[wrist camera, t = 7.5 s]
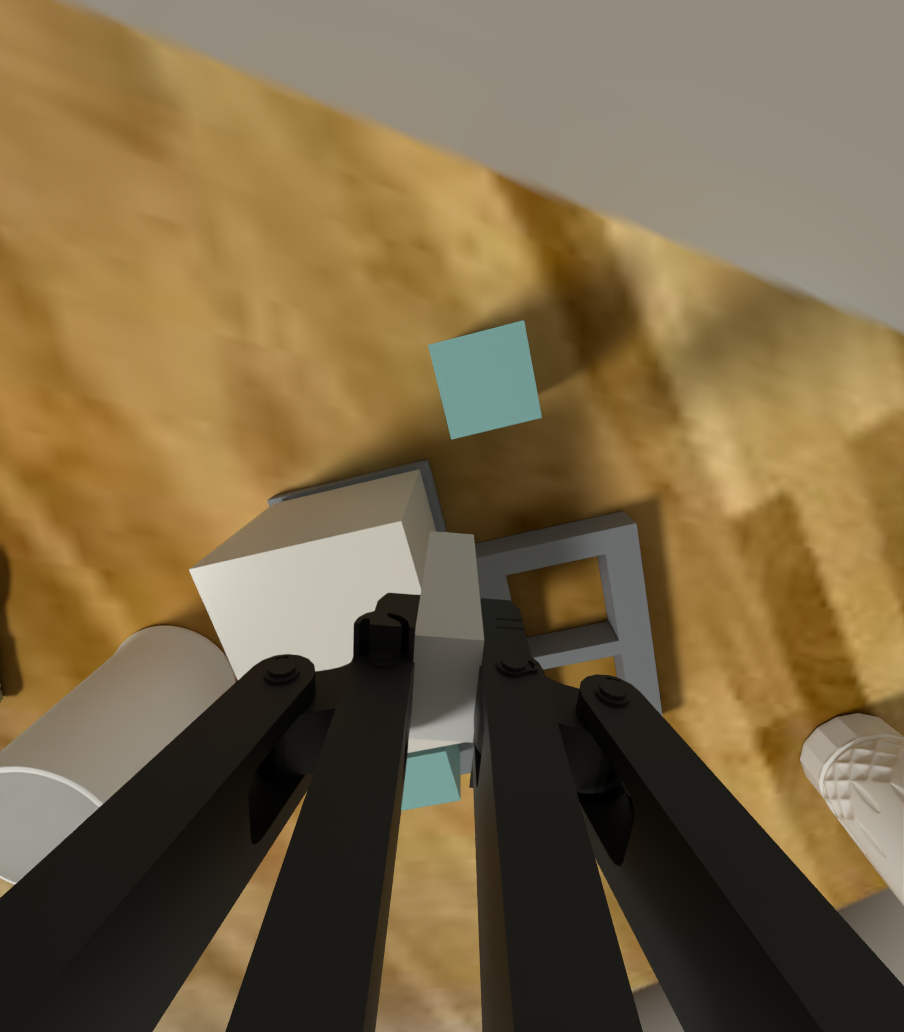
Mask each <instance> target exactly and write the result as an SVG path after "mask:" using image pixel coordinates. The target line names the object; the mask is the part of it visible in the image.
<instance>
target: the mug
mask: <svg viewBox="0 0 904 1032" xmlns="http://www.w3.org/2000/svg"><path fill="white" fill-rule="evenodd" d="M235 683H236V679H235V674H234V671H233V668H232V666H231V664H230V662H229V660H228V659H227V657H226V656H225V654H224V653H223V652H222V651H221V650H220V649H219V648H218V647H217V646H216V645H215V644H214V643H213V642H211V641H210V640H209V639H207V638H206V637H204V636H202V635H200V634H198V633H196V632H194V631H191V630H189V629H185V628H182V627H177V626H153V627H149V628H145V629H142V630H140V631H138V632H136V633H134V634H133V635H131V636H130V637H128V638H127V639H126V640H125V641H124V642H123V643H122V644H121V645H120V647H119V648H118V650H117V651H116V653H115V654H114V655H113V656H111V657H110V658H109V659H108V660H107V661H106V662H105V663H104V664H102V665H101V666H100V667H99V668H98V669H97V670H95V671H94V672H93V673H92V674H91V675H90V676H88V677H87V678H86V679H85V680H84V681H83V682H81V683H80V684H79V685H78V686H77V687H76V688H74V689H73V690H72V691H71V692H70V693H69V694H67V695H66V696H65V697H64V698H63V699H61V700H60V701H59V702H58V703H57V704H56V705H54V706H53V707H52V708H51V709H50V710H49V711H47V712H46V713H45V714H44V715H43V716H42V717H40V718H39V719H38V720H37V721H36V722H35V723H33V724H32V725H31V726H30V727H29V728H28V729H26V730H25V731H24V732H23V733H22V734H21V735H19V736H18V737H17V738H16V739H15V740H13V741H12V742H11V743H10V744H9V745H8V746H6V747H5V748H4V749H3V750H2V751H1V752H0V878H1V879H3V880H5V881H7V882H10V883H12V884H16V883H17V882H18V881H19V880H21V879H22V878H23V877H24V876H25V875H26V874H27V873H28V872H29V871H30V870H31V869H33V868H34V867H35V866H36V865H37V864H38V863H39V862H40V861H41V860H42V859H43V858H45V857H46V856H47V855H48V854H49V853H50V852H51V851H52V850H53V849H54V848H55V847H57V846H58V845H59V844H60V843H61V842H62V841H63V840H64V839H65V838H66V837H68V836H69V835H70V834H71V833H72V832H73V831H74V830H75V829H76V828H77V827H78V826H80V825H81V824H82V823H83V822H84V821H85V820H86V819H87V818H88V817H89V816H90V815H92V814H93V813H94V812H95V811H96V810H97V809H98V808H99V807H100V806H101V805H102V804H104V803H105V802H106V801H107V800H108V799H109V798H110V797H111V796H112V795H113V794H114V793H116V792H117V791H118V790H119V789H120V788H121V787H122V786H123V785H124V784H125V783H126V782H128V781H129V780H130V779H131V778H132V777H133V776H134V775H135V774H136V773H137V772H138V771H140V770H141V769H142V768H143V767H144V766H145V765H146V764H147V763H148V762H149V761H150V760H152V759H153V758H154V757H155V756H156V755H157V754H158V753H159V752H160V751H161V750H162V749H164V748H165V747H166V746H167V745H168V744H169V743H170V742H171V741H172V740H173V739H174V738H176V737H177V736H178V735H179V734H180V733H181V732H182V731H183V730H184V729H185V728H186V727H188V726H189V725H190V724H191V723H192V722H193V721H194V720H195V719H196V718H197V717H198V716H200V715H201V714H202V713H203V712H204V711H205V710H206V709H207V708H208V707H209V706H210V705H212V704H213V703H214V702H215V701H216V700H217V699H218V698H219V697H220V696H221V695H222V694H224V693H225V692H226V691H227V690H228V689H229V688H230V687H231V686H232V685H233V684H235Z"/></svg>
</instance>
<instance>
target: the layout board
mask: <svg viewBox="0 0 904 1032" xmlns="http://www.w3.org/2000/svg"><path fill="white" fill-rule="evenodd" d="M418 469H420V472H421V476H422V480H423V483H424V487H425V491H426V495H427V498H428V502H429V506H430V510H431V513H432V517H433V521H434V525H435V528H436V532H447V528H446V524H445V521H444V517H443V513H442V509H441V505H440V501H439V498H438V494H437V490H436V486H435V482H434V478H433V474H432V471H431V467H430V463H429V459H427V460H423V461H419V462H414V463H410V464H406V465H402V466H398V467H393V468H389V469H385V470H381V471H377V472H372V473H368V474H364V475H360V476H356V477H351V478H347V479H343V480H339V481H335V482H330V483H326V484H322V485H318V486H314V487H309V488H305V489H301V490H297V491H292V492H288V493H284V494H280V495H276V496H273V497H271V498H270V499H269V500H267V501H268V504H269V506H271V505H273V504H274V503H278V502H283V501H287V500H291V499H295V498H300V497H304V496H308V495H312V494H317V493H321V492H325V491H329V490H333V489H338V488H342V487H346V486H350V485H355V484H359V483H363V482H367V481H371V480H376V479H380V478H384V477H388V476H393V475H397V474H401V473H405V472H410V471H414V470H418ZM474 742H475V739H474V736H473V743H470V742H464V743H458V744H453V745H448V746H442V747H437V748H432V749H426V750H421V751H416V752H410V753H408V756H407V765H406V773H405V782H404V790H403V799H402V807H401V811H402V810H408V809H413V808H419V807H425V806H430V805H436V804H442V803H447V802H453V801H459V800H460V775H462V774H467V773H471V768H472V760H473V751H474Z"/></svg>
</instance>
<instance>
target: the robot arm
mask: <svg viewBox="0 0 904 1032" xmlns="http://www.w3.org/2000/svg"><path fill="white" fill-rule="evenodd" d="M473 736H474V739H475V742H474V751H473V760H472V768H471V777H470V786H469V787H471V788H473V789H474V816H475V843H476V870H477V897H478V924H479V951H480V978H481V1005H482V1032H643V1031H642V1027H641V1024H640V1020H639V1016H638V1013H637V1009H636V1006H635V1002H634V998H633V995H632V991H631V987H630V984H629V980H628V976H627V973H626V969H625V966H624V962H623V958H622V955H621V951H620V947H619V944H618V940H617V936H616V933H615V929H614V926H613V922H612V918H611V915H610V911H609V907H608V904H607V900H606V896H605V893H604V889H603V886H602V882H601V878H600V875H599V871H598V867H597V864H596V861H597V863H598V865H599V866H600V868H601V870H602V872H603V874H604V876H605V878H606V880H607V882H608V884H609V886H610V888H611V890H612V892H613V894H614V896H615V898H616V899H617V901H618V903H619V905H620V907H621V909H622V911H623V913H624V915H625V917H626V919H627V921H628V923H629V925H630V927H631V929H632V931H633V932H634V934H635V936H636V938H637V940H638V942H639V944H640V946H641V948H642V950H643V952H644V954H645V956H646V958H647V960H648V962H649V964H650V965H651V967H652V969H653V971H654V973H655V975H656V977H657V979H658V981H659V983H660V985H661V987H662V989H663V991H664V992H665V995H666V997H667V998H668V1000H669V1002H670V1004H671V1006H672V1008H673V1010H674V1012H675V1014H676V1016H677V1018H678V1020H679V1022H680V1024H681V1025H682V1027H683V1029H684V1031H685V1032H904V986H903V984H902V983H901V982H900V981H899V980H898V979H897V978H896V977H895V976H894V974H893V973H892V972H891V971H890V970H889V969H888V968H887V967H886V966H885V964H884V963H883V962H882V961H881V960H880V959H879V958H878V957H877V956H876V954H875V953H874V952H873V951H872V950H871V949H870V948H869V947H868V946H867V944H866V943H865V942H864V941H863V940H862V939H861V938H860V937H859V935H858V934H857V933H856V932H855V931H854V930H853V929H852V928H851V926H850V925H849V924H848V923H847V922H846V921H845V920H844V919H843V918H842V916H841V915H839V913H838V912H837V911H836V910H835V909H834V907H833V906H832V905H831V904H830V903H829V902H828V901H827V900H826V899H825V897H824V896H823V895H822V894H821V893H820V892H819V891H818V890H817V888H816V887H815V886H814V885H813V884H812V883H811V882H810V881H809V880H808V878H807V877H806V876H805V875H804V874H803V873H802V872H801V871H800V870H799V868H798V867H797V866H796V865H795V864H794V863H793V862H792V861H791V859H790V858H789V857H788V856H787V855H786V854H785V853H784V852H783V851H782V849H781V848H780V847H779V846H778V845H777V844H776V843H775V842H774V840H773V839H772V838H771V837H770V836H769V835H768V834H767V833H766V832H765V830H764V829H763V828H762V827H761V826H760V825H759V824H758V823H757V821H756V820H755V819H754V818H753V817H752V816H751V815H750V814H749V813H748V811H747V810H746V809H745V808H744V807H743V806H742V805H741V804H740V803H739V801H738V800H737V799H736V798H735V797H734V796H733V795H732V794H731V792H730V791H729V790H728V789H727V788H726V787H725V786H724V785H723V784H722V782H721V781H720V780H719V779H718V778H717V777H716V776H715V775H714V773H713V772H712V771H711V770H710V769H709V768H708V767H707V766H706V765H705V763H704V762H703V761H702V760H701V759H700V758H699V757H698V756H697V755H696V753H695V752H694V751H693V750H692V749H691V748H690V747H689V746H688V744H687V743H686V742H685V741H684V740H683V739H682V738H681V737H680V736H679V734H678V733H677V732H676V731H675V730H674V729H673V728H672V727H671V725H670V724H669V723H668V722H667V721H666V720H665V719H664V718H663V717H662V715H661V714H660V713H659V712H658V711H657V710H656V709H655V708H654V707H653V705H652V704H651V703H650V702H649V701H648V700H647V699H646V698H645V696H644V695H643V694H642V693H641V692H640V691H639V690H638V689H636V688H635V687H634V686H633V685H632V684H630V683H628V682H626V681H624V680H622V679H620V678H617V677H613V676H609V675H592V676H588V677H586V678H585V679H584V680H583V681H581V684H580V689H578V688H574V687H571V686H567V685H564V684H561V683H558V682H555V681H553V680H551V679H549V678H547V677H546V676H545V675H544V671H543V669H542V667H541V665H540V663H539V662H538V661H536V660H535V659H534V658H533V657H531V653H530V649H529V645H528V641H527V637H526V633H525V630H524V625H523V622H522V617H521V613H520V610H519V609H518V608H517V607H516V606H515V605H514V604H513V603H512V602H511V601H510V600H499V599H486V598H480V592H479V582H478V572H477V563H476V553H475V543H474V534H461V533H448V532H434V531H430V535H429V542H428V548H427V555H426V562H425V568H424V575H423V582H422V588H421V595H414V594H400V593H387V594H385V595H384V596H383V597H382V598H380V599H379V600H378V602H377V605H376V608H375V611H372V612H368V613H365V614H364V615H362V616H360V617H358V618H357V620H356V621H355V622H354V637H353V658H352V661H351V662H350V663H349V664H347V665H344V666H341V667H339V668H334V669H329V670H322V671H315V666H314V664H313V663H312V662H311V661H310V660H309V659H308V658H305V657H303V656H300V655H293V654H283V655H276V656H272V657H270V658H267V659H264V660H262V661H260V662H259V663H257V664H256V665H254V666H253V667H252V668H251V669H250V670H249V671H248V672H247V673H245V674H244V675H243V676H242V677H241V678H240V679H239V680H238V681H237V682H236V683H235V684H233V685H232V686H231V687H230V688H229V689H228V690H227V691H226V692H225V693H224V694H222V695H221V696H220V697H219V698H218V699H217V700H216V701H215V702H214V703H213V704H212V705H210V706H209V707H208V708H207V709H206V710H205V711H204V712H203V713H202V714H201V715H200V716H198V717H197V718H196V719H195V720H194V721H193V722H192V723H191V724H190V725H189V726H188V727H186V728H185V729H184V730H183V731H182V732H181V733H180V734H179V735H178V736H177V737H176V738H174V739H173V740H172V741H171V742H170V743H169V744H168V745H167V746H166V747H165V748H164V749H162V750H161V751H160V752H159V753H158V754H157V755H156V756H155V757H154V758H153V759H152V760H150V761H149V762H148V763H147V764H146V765H145V766H144V767H143V768H142V769H141V770H140V771H138V772H137V773H136V774H135V775H134V776H133V777H132V778H131V779H130V780H129V781H128V782H126V783H125V784H124V785H123V786H122V787H121V788H120V789H119V790H118V791H117V792H116V793H114V794H113V795H112V796H111V797H110V798H109V799H108V800H107V801H106V802H105V803H104V804H102V805H101V806H100V807H99V808H98V809H97V810H96V811H95V812H94V813H93V814H92V815H90V816H89V817H88V818H87V819H86V820H85V821H84V822H83V823H82V824H81V825H80V826H78V827H77V828H76V829H75V830H74V831H73V832H72V833H71V834H70V835H69V836H68V837H66V838H65V839H64V840H63V841H62V842H61V843H60V844H59V845H58V846H57V847H55V848H54V849H53V850H52V851H51V852H50V853H49V854H48V855H47V856H46V857H45V858H43V859H42V860H41V861H40V862H39V863H38V864H37V865H36V866H35V867H34V868H33V869H31V870H30V871H29V872H28V873H27V874H26V875H25V876H24V877H23V878H22V879H21V880H19V881H18V882H17V883H16V884H15V885H14V886H13V887H12V888H11V889H10V890H9V891H7V892H6V893H5V894H4V895H3V896H2V897H1V898H0V1032H152V1031H153V1030H154V1028H155V1027H156V1025H157V1024H158V1022H159V1020H160V1019H161V1017H162V1016H163V1014H164V1013H165V1011H166V1010H167V1008H168V1006H169V1005H170V1003H171V1002H172V1000H173V999H174V997H175V996H176V994H177V992H178V991H179V989H180V988H181V986H182V985H183V983H184V982H185V980H186V978H187V977H188V975H189V974H190V972H191V971H192V969H193V968H194V966H195V964H196V963H197V961H198V960H199V958H200V957H201V955H202V954H203V952H204V950H205V949H206V947H207V946H208V944H209V943H210V941H211V940H212V938H213V936H214V935H215V933H216V932H217V930H218V929H219V927H220V926H221V924H222V922H223V921H224V919H225V918H226V916H227V915H228V913H229V912H230V910H231V908H232V907H233V905H234V904H235V902H236V901H237V899H238V898H239V896H240V894H241V893H242V891H243V890H244V888H245V887H246V885H247V884H248V882H249V880H250V879H251V877H252V876H253V874H254V873H255V871H256V870H257V868H258V866H259V865H260V863H261V862H262V860H263V859H264V857H265V855H266V854H267V852H268V851H269V849H270V848H271V846H272V845H273V843H274V841H275V840H276V838H277V837H278V835H279V834H280V832H281V831H282V829H283V827H284V826H285V824H286V823H287V821H288V820H289V818H290V817H291V815H292V813H293V812H294V810H295V809H296V807H297V806H298V804H299V803H300V801H301V799H302V798H303V796H304V795H305V793H306V792H307V793H306V796H305V799H304V802H303V805H302V808H301V811H300V814H299V817H298V820H297V823H296V826H295V829H294V832H293V835H292V838H291V841H290V843H289V846H288V849H287V852H286V855H285V858H284V861H283V864H282V867H281V870H280V873H279V876H278V879H277V882H276V885H275V888H274V890H273V893H272V896H271V899H270V902H269V905H268V908H267V911H266V914H265V917H264V920H263V923H262V926H261V929H260V932H259V935H258V937H257V940H256V943H255V946H254V949H253V952H252V955H251V958H250V961H249V964H248V967H247V970H246V973H245V976H244V979H243V982H242V985H241V987H240V990H239V993H238V996H237V999H236V1002H235V1005H234V1008H233V1011H232V1014H231V1017H230V1020H229V1023H228V1026H227V1029H226V1032H375V1027H376V1019H377V1010H378V1002H379V993H380V985H381V976H382V968H383V959H384V951H385V942H386V934H387V926H388V917H389V909H390V900H391V892H392V883H393V875H394V866H395V858H396V849H397V841H398V833H399V824H400V816H401V807H402V799H403V790H404V782H405V773H406V765H407V756H408V741H409V738H411V739H426V740H440V741H455V742H470V743H473ZM307 790H308V791H307ZM595 859H596V860H595Z"/></svg>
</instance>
